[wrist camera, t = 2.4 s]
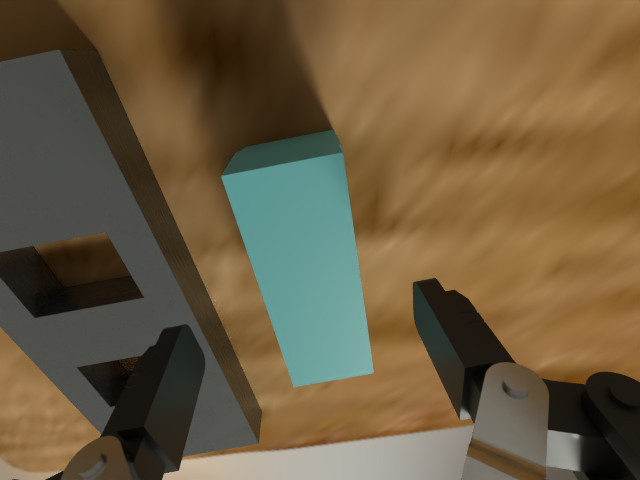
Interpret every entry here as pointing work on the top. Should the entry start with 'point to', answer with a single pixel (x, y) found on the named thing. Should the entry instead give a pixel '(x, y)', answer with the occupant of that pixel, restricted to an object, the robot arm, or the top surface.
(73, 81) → the grey board with holes
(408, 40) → the top surface
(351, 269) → the teal rectangular block
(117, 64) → the top surface
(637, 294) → the top surface
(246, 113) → the top surface
